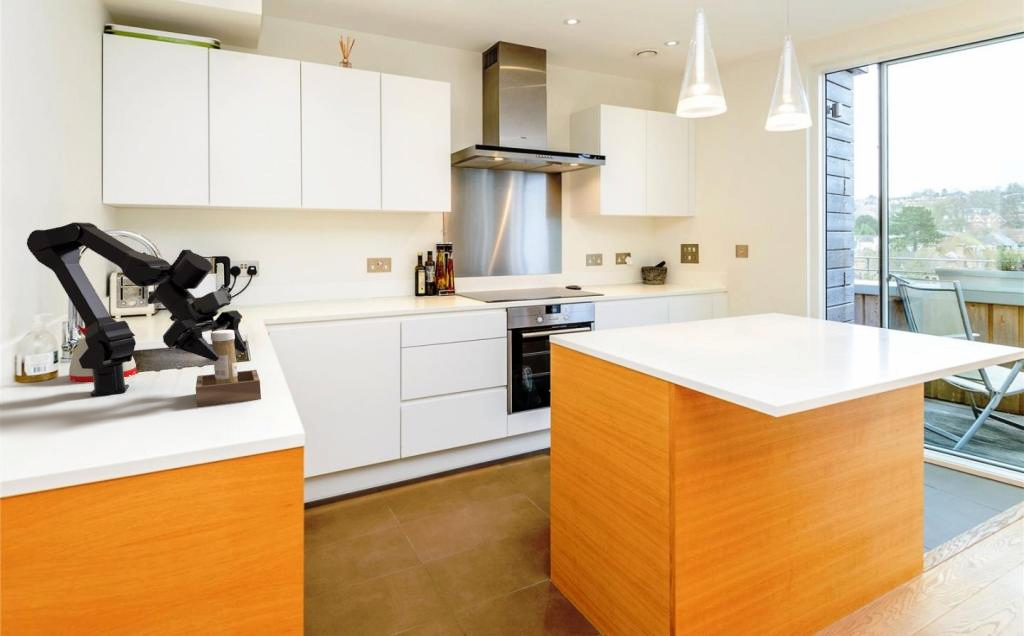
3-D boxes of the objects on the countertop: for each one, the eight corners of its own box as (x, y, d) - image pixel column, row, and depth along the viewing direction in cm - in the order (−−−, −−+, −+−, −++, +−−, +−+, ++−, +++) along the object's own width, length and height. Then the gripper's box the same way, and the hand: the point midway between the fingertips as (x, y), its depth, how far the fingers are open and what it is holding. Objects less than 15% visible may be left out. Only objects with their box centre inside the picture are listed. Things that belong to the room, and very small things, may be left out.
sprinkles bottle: (243, 390, 126) (238, 329, 124) (224, 395, 122) (219, 333, 120) (230, 388, 128) (225, 328, 126) (211, 393, 124) (205, 331, 122)
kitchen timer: (75, 374, 149) (68, 317, 147) (138, 368, 155) (132, 313, 153) (65, 385, 137) (58, 323, 135) (134, 378, 143) (128, 319, 141)
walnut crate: (198, 393, 128) (197, 375, 127) (257, 386, 133) (256, 369, 133) (197, 406, 117) (195, 387, 117) (261, 398, 123) (259, 380, 122)
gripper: (170, 280, 113) (224, 337, 113) (231, 275, 131) (278, 323, 131) (139, 319, 116) (192, 375, 115) (203, 308, 134) (250, 356, 133)
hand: (231, 355), depth 124 cm, fingers open, 9 cm apart
